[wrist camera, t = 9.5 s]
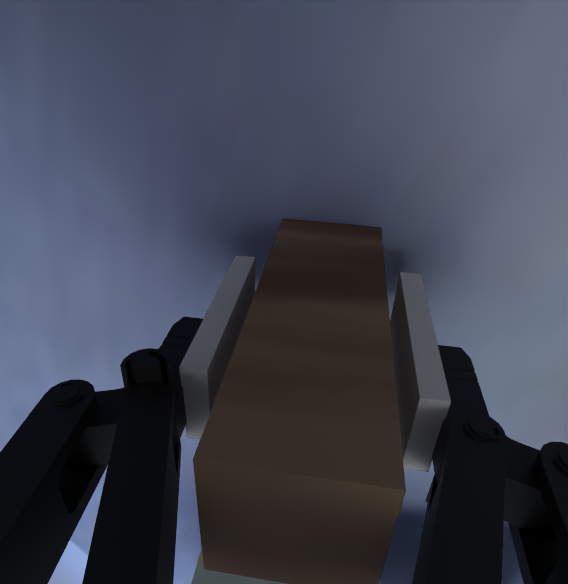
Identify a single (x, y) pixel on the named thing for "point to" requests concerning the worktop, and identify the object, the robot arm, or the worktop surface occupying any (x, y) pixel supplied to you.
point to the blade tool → (306, 419)
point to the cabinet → (223, 577)
